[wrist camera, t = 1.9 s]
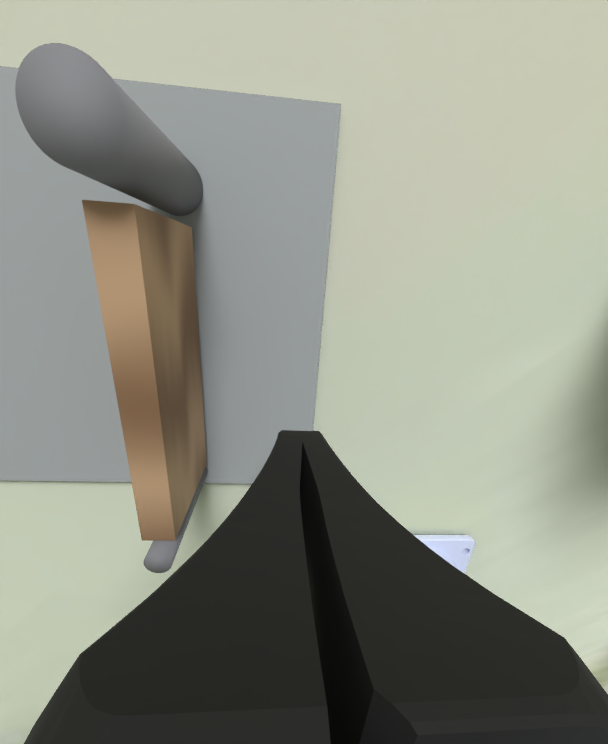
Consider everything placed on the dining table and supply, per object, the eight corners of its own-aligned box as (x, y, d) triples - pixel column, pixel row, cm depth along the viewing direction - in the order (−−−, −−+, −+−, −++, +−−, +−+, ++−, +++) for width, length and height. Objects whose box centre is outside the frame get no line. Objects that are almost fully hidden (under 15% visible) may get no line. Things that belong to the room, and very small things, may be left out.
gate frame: (-172, 53, 9) (-858, -263, 4) (339, 109, 11) (396, -67, 5) (-10, 474, 15) (-185, 597, 10) (307, 479, 16) (318, 590, 11)
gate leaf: (159, 224, 11) (81, 199, 7) (191, 227, 11) (134, 203, 7) (182, 463, 15) (142, 540, 11) (206, 464, 15) (175, 540, 11)
